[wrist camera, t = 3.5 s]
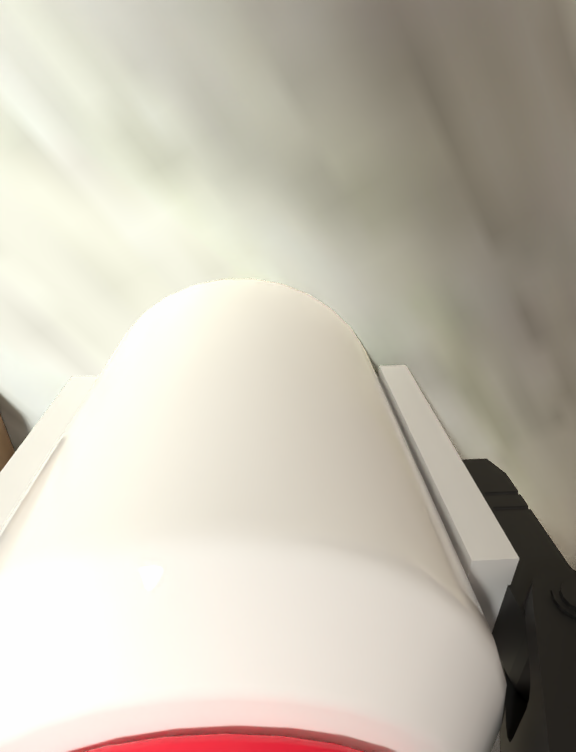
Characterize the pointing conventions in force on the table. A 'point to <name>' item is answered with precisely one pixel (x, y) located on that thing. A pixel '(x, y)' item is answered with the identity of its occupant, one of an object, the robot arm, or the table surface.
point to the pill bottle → (238, 553)
